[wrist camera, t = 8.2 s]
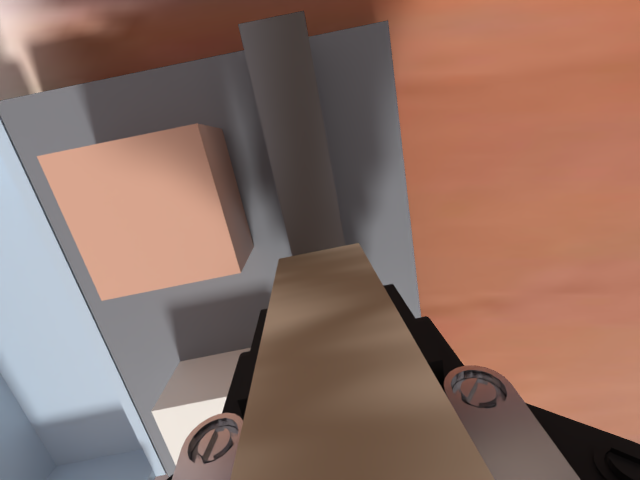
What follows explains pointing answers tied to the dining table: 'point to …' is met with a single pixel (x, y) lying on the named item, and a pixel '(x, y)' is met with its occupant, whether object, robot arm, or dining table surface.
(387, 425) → the scraper
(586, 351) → the dining table surface
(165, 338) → the board
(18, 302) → the box
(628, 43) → the dining table surface
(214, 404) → the tile cream
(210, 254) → the tile terracotta
